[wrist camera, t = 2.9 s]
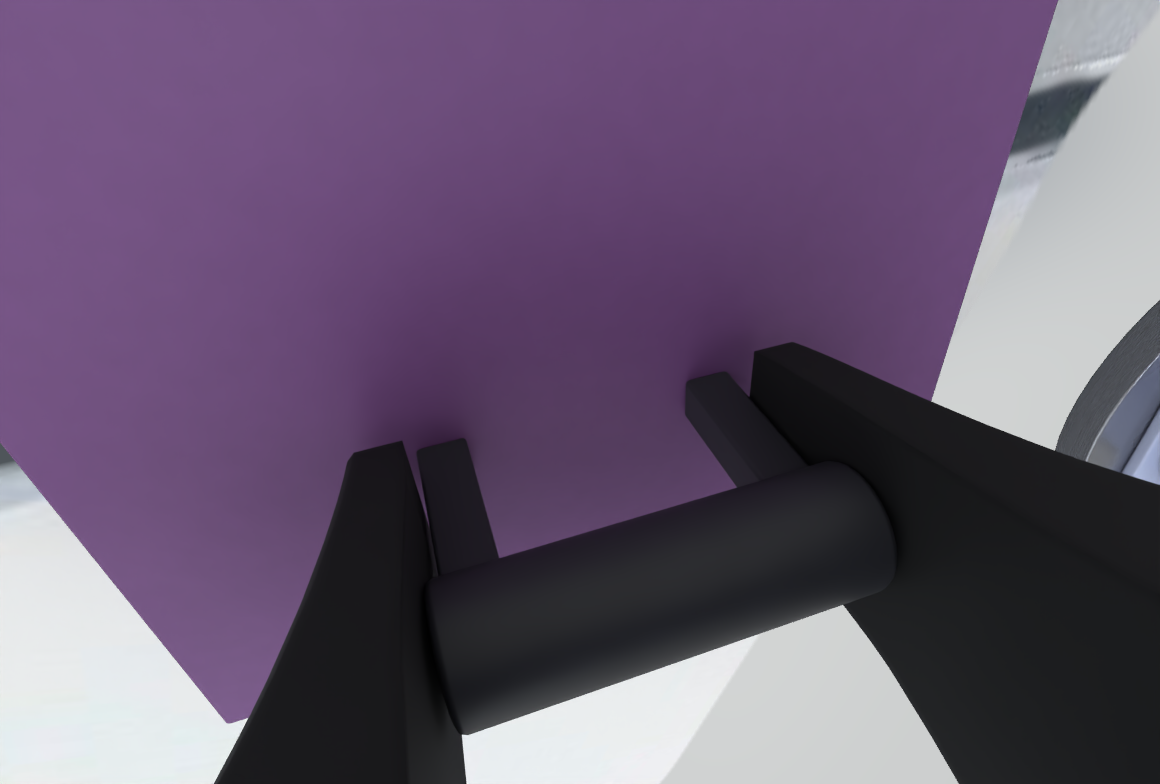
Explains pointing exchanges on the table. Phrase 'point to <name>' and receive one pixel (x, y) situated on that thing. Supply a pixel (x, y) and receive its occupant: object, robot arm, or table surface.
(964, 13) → the box cover
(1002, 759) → the robot arm
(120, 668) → the table surface
